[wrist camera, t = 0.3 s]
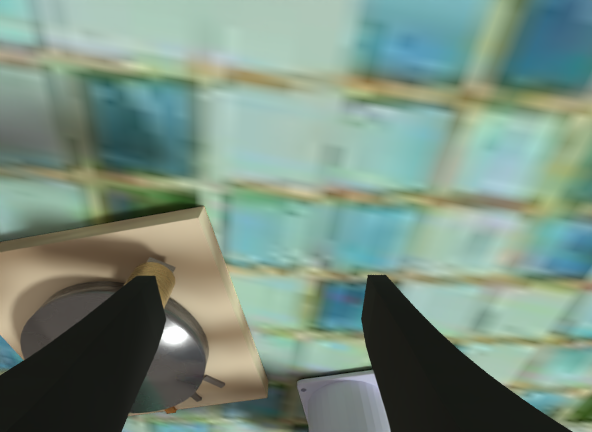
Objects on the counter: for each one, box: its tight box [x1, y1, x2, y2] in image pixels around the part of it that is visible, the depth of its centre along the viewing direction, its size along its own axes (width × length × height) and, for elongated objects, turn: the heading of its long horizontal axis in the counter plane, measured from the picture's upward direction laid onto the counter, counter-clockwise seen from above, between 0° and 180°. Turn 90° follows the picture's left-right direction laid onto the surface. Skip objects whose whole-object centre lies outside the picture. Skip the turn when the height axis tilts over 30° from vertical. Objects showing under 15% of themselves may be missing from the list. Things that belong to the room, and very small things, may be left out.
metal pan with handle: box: [20, 257, 209, 413], centre depth 20 cm, size 17×12×6 cm
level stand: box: [0, 206, 268, 416], centre depth 24 cm, size 18×17×2 cm
